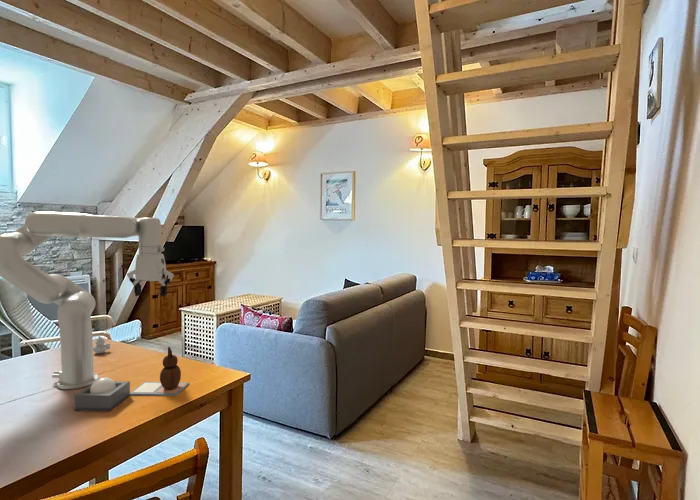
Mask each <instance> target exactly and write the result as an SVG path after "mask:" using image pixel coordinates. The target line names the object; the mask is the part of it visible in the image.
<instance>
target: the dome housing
mask: <svg viewBox="0 0 700 500" xmlns="http://www.w3.org/2000/svg"><path fill="white" fill-rule="evenodd" d="M113 381H114V382H115V385H116V388H115V389H114V390H112V391H111V392H109V393H90V388H91V386H92V384H91V385H89V386H86V387H84V389H82V390H80V391H79V392H77V393H76V394H74V395H73V399H74V401H73V402H74V412H111V411H113V410H114V409H116V408H117V407H118V406H120V404H122V403H123V402H124V401H126V400H127V399H128V398H129V397H131V395H130V393H131V390H130V389H131V387H130V385H131V381H130V380H129V381H127V380H126V381H124V380H123V381H121V380H119V381H117V380H113Z"/></svg>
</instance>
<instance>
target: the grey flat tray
mask: <svg viewBox="0 0 700 500" xmlns="http://www.w3.org/2000/svg"><path fill="white" fill-rule="evenodd" d="M188 385H190V382H187V381H185V382H184V381H183V382H182V381H180V382H179V384H178V386H177V387H176V388H174V389H170V390H167V389H164V388H163V386H162V385H161V382H160V381H144V382H143V383H141V384H140V385H138V386H137V387H136V388H134V390H132V391H130V396H143V397H144V396H147V397H149V396H153V397H154V396H155V397H160V396H161V397H163V396H165V397H178V395H180V394H181V393H182V392H183V391H184V390H185V389H186V388H187V387H188Z"/></svg>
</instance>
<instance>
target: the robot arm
mask: <svg viewBox="0 0 700 500" xmlns="http://www.w3.org/2000/svg"><path fill="white" fill-rule="evenodd" d="M25 218H26V219H25V221H24V225H22V226H21V227H20V228H18V229H16V230H14V231H13V232H5V233H1V234H0V277H1V278H2V279H4V280H6V281H7V282H8V283H10V284H11V285H14V287H16V289H19V290H20V291H22V292H23V293H25V294H26V295H28V296H30V297H31V298H32V299H34V300H35V301H37V302H38V303H41V304H44V305H45V304H46V305H47V304H48V305H49V304H51V303H52V304H53V303H54V304H56V305H57V306H58V308H57V313H56V315H57V322H58V327H59V340H60V361H61V362H60V363H61V370H58V369H57V370H54V371H53V373H52V376H51V378H52V379H58V381H57V382H56V388H58V389H61V390H75V389H76V390H77V389H81V388H86V387H88V386H90V385H91V384H93V383H94V382H95V381H96V380H97V379H99V378H100V375H98V374H97V373H95V369H94V367H95V366H94V351H93V348H94V344H93V341H94V340H93V327H92V317H91V316H92V315H91V314H92V313H93V312H94V309H95V308H96V305H97V304H96V303H97V302H96V299H95V298H94V296H93V295H92V294H91V293H90V292H88V291H87V290H86V289H84V288H83V287H81V286H80V285H78V284H77V283H75V282H74V281H72V280H71V279H69V278H68V277H66V276H64V275H61V274H58V273H50V274H49V273H46V272H45V271H44V270H42V269H40V268H38V267H37V266H36V265H34V264H33V263H31V262H29V261H27V260H26V259H24V258H23V256H26V255H28V254H30V253H32V252H33V251H34V250H35V249H37V248H38V247H39V246H42V244H44V243H45V242H46V241H48V240H49V239H51V238H52V237H63V238H64V237H68V238H69V237H70V238H111V239H112V238H113V239H117V238H119V239H126V238H131V237H138V254H137V255H136V258H135V267H134V270H131V271H130V272H128V273H126V276H127V278H128V279H129V282H130V283H132V286H134V287H133V288H134V291H133V292H134V295H135V297H138V296H141V295H142V282H158V283H159V284H160V290H159V291H160V297H161V298H162V297H165V296H167V294H168V285H169V284H170V283H171V282H172V280H173V278H174V277H175V275H174V273H173V272H170V271H169V270H167V265H166V260H165V259H166V258H165V255H164V254H163V253H162V252H165V247H162V230H161V228H162V226H161V223H162V222H161V219H160V218H157V217H130V216H115V215H114V216H113V215H97V214H96V215H95V214H88V213H81V212H65V211H48V210H47V211H46V210H45V211H44V210H42V211H41V210H40V211H34V212H31V213H29V214H28V215H27V216H26V217H25ZM134 275H135V277H134ZM167 276H168V277H167Z"/></svg>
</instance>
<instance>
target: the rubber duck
mask: <svg viewBox="0 0 700 500" xmlns="http://www.w3.org/2000/svg"><path fill="white" fill-rule="evenodd" d="M94 343H95V346H93V353H96V354H99V355H100V354H103V353H105V352H107V350H110V349H111V347H110V346H111V343H110V342H107V343H106V341H105V339H104V338H103V337H101V336H100V335H99V336H98V338H97V339H96V341H95V342H94Z"/></svg>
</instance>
